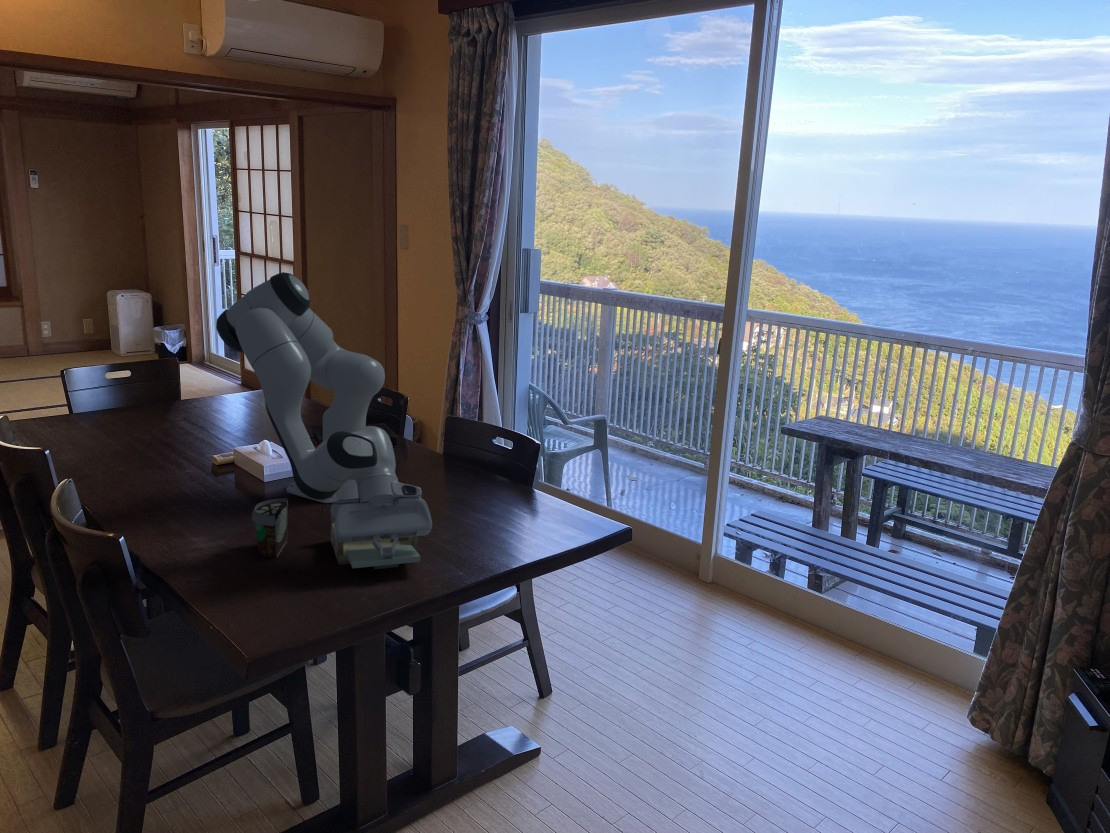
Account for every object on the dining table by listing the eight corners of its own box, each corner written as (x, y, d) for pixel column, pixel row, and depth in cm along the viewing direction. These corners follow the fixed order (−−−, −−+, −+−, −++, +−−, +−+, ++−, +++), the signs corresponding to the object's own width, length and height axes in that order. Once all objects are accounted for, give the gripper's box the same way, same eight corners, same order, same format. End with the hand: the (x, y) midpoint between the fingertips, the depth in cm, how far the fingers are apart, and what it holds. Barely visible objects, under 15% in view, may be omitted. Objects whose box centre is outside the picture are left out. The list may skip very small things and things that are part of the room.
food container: (261, 538, 183) (260, 496, 181) (288, 538, 183) (288, 497, 181) (245, 560, 171) (244, 516, 169) (275, 560, 171) (274, 516, 169)
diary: (397, 450, 263) (397, 435, 261) (319, 455, 252) (319, 440, 250) (383, 435, 279) (383, 421, 277) (309, 439, 268) (309, 425, 266)
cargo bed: (330, 540, 184) (330, 507, 182) (404, 534, 190) (405, 502, 189) (338, 564, 171) (338, 529, 170) (417, 556, 178) (418, 523, 176)
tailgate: (346, 550, 171) (352, 562, 162) (411, 544, 176) (420, 556, 168) (346, 559, 171) (352, 572, 163) (411, 553, 177) (420, 565, 168)
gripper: (330, 493, 165) (337, 556, 158) (428, 487, 173) (438, 546, 166) (328, 507, 170) (334, 568, 163) (423, 500, 178) (432, 558, 171)
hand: (387, 557), depth 165 cm, fingers closed, pressing on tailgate
